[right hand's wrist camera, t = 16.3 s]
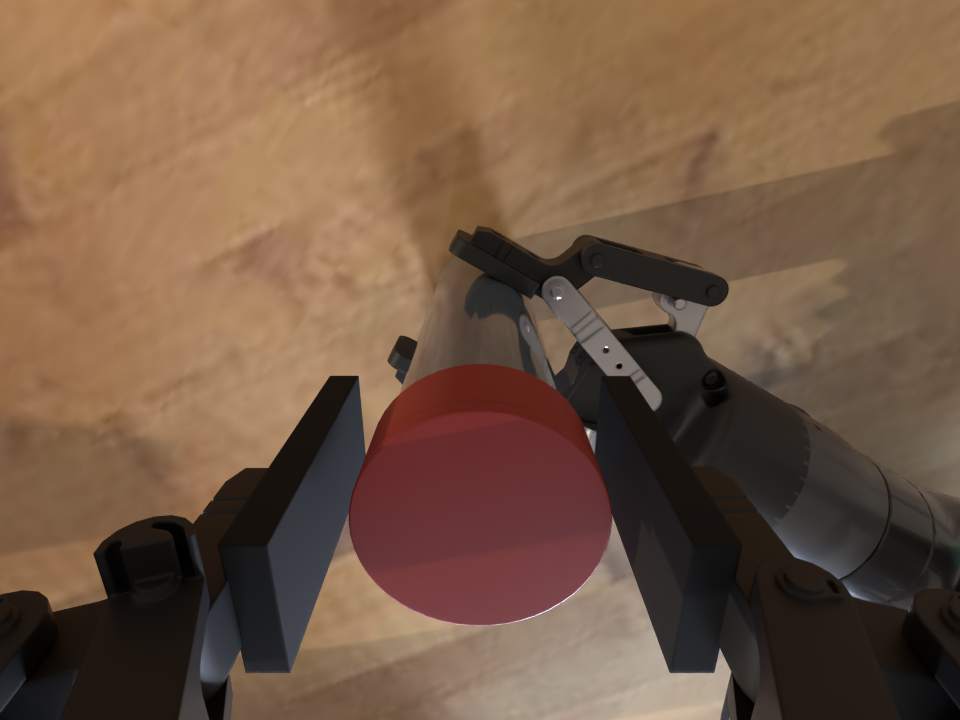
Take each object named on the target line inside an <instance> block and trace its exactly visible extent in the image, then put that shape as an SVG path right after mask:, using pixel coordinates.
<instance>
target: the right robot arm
mask: <svg viewBox="0 0 960 720" xmlns="http://www.w3.org/2000/svg"><path fill="white" fill-rule="evenodd" d="M594 455H595V457H596V460H597V463H598V465H599V468H600V470H601V473H602V476H603V478H604V481H605V484H606V486H607V489H608V492H609V497H610V501H611V509H612V515H613V518H614V521H615V524H616V526H617V529H618V532H619V535H620V537H621V540H622V543H623V546H624V548H625V551H626V554H627V557H628V559H629V562H630V565H631V568H632V570H633V573H634V576H635V579H636V581H637V584H638V587H639V590H640V592H641V595H642V598H643V600H644V603H645V606H646V609H647V611H648V614H649V617H650V620H651V622H652V625H653V628H654V631H655V633H656V636H657V639H658V642H659V644H660V647H661V650H662V653H663V655H664V658H665V661H666V664H667V666H668V669H669V672H670V673H714V671H715V667H716V662H717V658H718V653H719V649H721V651H722V653H723V655H724V657H725V659H726V661H727V663H728V665H729V667H730V669H731V676H730V680H729V684H728V688H727V693H726V697H725V701H724V705H723V709H722V713H721V720H729V717H730V720H960V592H956V591H951V590H945V589H940V588H934V589H922V590H921V591H920V592H918V593H917V594H915V595H914V596H913V599H912V602H911V604H910V607H909V609H908V610H906V609H901V608H897V607H893V606H888V605H884V604H879V603H875V602H871V601H866V600H862V599H859V598H856V597H852V596H851V594H850V593H849V591H848V590H847V588H846V587H845V585H844V584H843V583H842V582H841V581H840V580H838V579H837V578H836V577H835V576H834V575H833V574H831V573H830V572H828V571H827V570H825V569H823V568H821V567H819V566H817V565H815V564H814V563H811V562H808V561H805V560H802V559H798V558H795V557H794V556H793V555H792V553H791V552H790V551H789V550H788V548H787V547H786V546H785V544H784V543H783V542H782V541H781V539H780V538H779V537H778V535H777V534H776V533H775V532H774V530H773V529H772V528H771V526H770V525H769V524H768V523H767V521H766V520H765V519H764V517H763V516H762V515H761V514H760V513H758V512H757V508H756V507H755V506H754V504H753V503H752V502H751V501H750V499H747V495H746V494H745V493H744V492H743V490H742V489H741V488H740V486H739V485H738V484H737V483H736V481H735V480H734V479H732V478H731V477H729V476H728V475H726V474H725V473H723V472H722V471H720V470H719V469H717V468H716V467H715V466H690V465H689V464H688V462H687V461H686V459H685V458H684V456H683V455H682V453H681V452H680V450H679V449H678V447H677V446H676V444H675V443H674V441H673V440H672V438H671V437H670V435H669V434H668V432H667V431H666V429H665V428H664V426H663V425H662V423H661V422H660V420H659V419H658V417H657V416H656V414H655V413H654V411H653V410H652V408H651V407H650V405H649V404H648V402H647V401H646V399H645V398H644V396H643V395H642V393H641V392H640V390H639V389H638V387H637V386H636V384H635V383H634V381H633V380H632V378H631V377H630V376H601V387H600V398H599V409H598V420H597V431H596V442H595V453H594ZM365 457H366V453H365V442H364V431H363V420H362V409H361V398H360V387H359V376H330V377H329V378H328V380H327V381H326V383H325V384H324V386H323V387H322V389H321V390H320V392H319V393H318V395H317V396H316V398H315V399H314V401H313V402H312V404H311V405H310V407H309V408H308V410H307V411H306V413H305V414H304V416H303V417H302V419H301V420H300V422H299V423H298V425H297V426H296V428H295V429H294V431H293V432H292V434H291V435H290V437H289V438H288V440H287V441H286V443H285V444H284V446H283V447H282V449H281V450H280V452H279V453H278V455H277V456H276V458H275V459H274V461H273V462H272V464H271V465H270V466H269V468H245V469H244V470H242V471H241V472H239V473H238V474H236V475H235V476H234V477H232V478H231V479H229V480H228V481H226V482H225V483H224V485H223V486H222V487H221V489H220V490H219V491H218V493H217V494H216V495H215V496H214V498H213V501H211V502H210V503H209V504H208V505H207V507H206V508H205V509H204V511H203V515H200V516H199V517H198V518H197V520H196V521H195V522H194V524H192V523H191V522H190V521H188V520H187V519H186V518H183V517H178V516H173V515H169V516H157V517H152V518H148V519H144V520H141V521H137V522H135V523H132V524H130V525H128V526H126V527H124V528H122V529H120V530H118V531H116V532H115V533H114V534H112V535H111V536H110V537H108V538H107V539H105V540H104V541H103V542H102V543H101V544H100V546H99V547H98V548H97V550H96V551H95V552H94V553H93V554H94V557H95V560H96V563H97V566H98V569H99V572H100V575H101V578H102V581H103V584H104V587H105V590H106V593H107V596H108V598H107V599H105V600H102V601H99V602H95V603H90V604H86V605H82V606H77V607H73V608H69V609H64V610H60V611H56V612H52V609H51V607H50V604H49V602H48V599H47V598H46V597H45V596H44V595H42V594H41V593H40V592H36V591H25V590H22V591H17V592H11V593H6V594H2V595H0V720H230V718H231V708H232V697H233V692H232V685H231V680H230V676H229V672H230V670H231V668H232V666H233V664H234V662H235V660H236V658H237V656H238V653H239V651H240V649H241V653H242V658H243V662H244V667H245V671H246V673H290V672H291V669H292V666H293V664H294V661H295V658H296V655H297V653H298V650H299V647H300V644H301V642H302V639H303V636H304V633H305V631H306V628H307V625H308V622H309V620H310V617H311V614H312V611H313V609H314V606H315V603H316V600H317V598H318V595H319V592H320V589H321V587H322V584H323V581H324V579H325V576H326V573H327V570H328V568H329V565H330V562H331V559H332V557H333V554H334V551H335V548H336V546H337V543H338V540H339V537H340V535H341V532H342V529H343V526H344V524H345V521H346V518H347V515H348V513H349V505H350V500H351V495H352V491H353V488H354V486H355V483H356V481H357V478H358V475H359V473H360V470H361V467H362V465H363V462H364V459H365Z"/></svg>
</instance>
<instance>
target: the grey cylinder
mask: <svg viewBox="0 0 960 720" xmlns="http://www.w3.org/2000/svg"><path fill="white" fill-rule="evenodd" d="M468 364H492V365H501V366H506V367H510V368H514V369H518V370H521V371H523V372H526V373H528V374H531V375H533V376H535V377H537V378H539V379H541V380H543V381H544V382H546V383H547V384H549V385H550V386H551V387H553V388H554V389H556V390H557V391H558V392H559V393H560V394H561V392H560V389H559V386H558V383H557V381H556V378H555V375H554V372H553V369H552V366H551V363H550V360H549V357H548V354H547V351H546V348H545V345H544V342H543V339H542V336H541V333H540V330H539V327H538V324H537V321H536V318H535V315H534V312H533V309H532V306H531V303H530V300H529V298H528V297H526V296H525V295H523V294H521V293H519V292H518V291H516V290H514V289H513V288H511V287H509V286H508V285H506V284H504V283H502V282H500V281H498V280H497V279H495V278H493V277H491V276H490V275H488V274H486V273H484V272H483V271H481V270H479V269H477V268H476V267H474V266H472V265H470V264H469V263H467V262H465V261H463V260H462V259H460V258H458V257H457V256H454V257H453V258H451V259H450V260H449V261H448V262H447V263H446V264H445V266H444V267H443V269H442V271H441V273H440V275H439V278H438V280H437V283H436V286H435V289H434V292H433V295H432V298H431V301H430V304H429V307H428V310H427V313H426V316H425V319H424V322H423V325H422V328H421V331H420V334H419V337H418V340H417V344H416V347H415V350H414V353H413V356H412V359H411V362H410V365H409V368H408V371H407V374H406V377H405V380H404V383H403V386H402V389H401V392H400V394H401V393H402V392H403V391H404V390H405V389H406V388H408V387H409V386H411V385H412V384H413V383H415V382H416V381H418V380H420V379H422V378H424V377H426V376H427V375H430V374H432V373H435V372H437V371H440V370H443V369H447V368H451V367H455V366H461V365H468Z"/></svg>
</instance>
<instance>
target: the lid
mask: <svg viewBox="0 0 960 720" xmlns="http://www.w3.org/2000/svg"><path fill="white" fill-rule="evenodd" d="M611 525H612V509H611V501H610V497H609V492H608V489H607V486H606V484H605V481H604V478H603V476H602V473H601V470H600V468H599V465H598V463H597V460H596V457H595V455H594V452H593V449H592V447H591V444H590V441H589V439H588V436H587V434H586V431H585V428H584V426H583V423H582V421H581V420H580V418H579V416H578V414H577V413H576V411H575V410H574V408H573V407H572V406H571V405H570V403H569V402H568V401H567V400H566V399H565V398H564V397H563V396H562V395H561V394H560V393H559V392H558V391H557V390H556V389H554V388H553V387H551V386H550V385H549V384H547V383H546V382H544V381H543V380H541V379H539V378H537V377H535V376H533V375H531V374H528V373H526V372H523V371H521V370H518V369H514V368H510V367H506V366H501V365H492V364H468V365H461V366H455V367H451V368H447V369H443V370H440V371H437V372H435V373H432V374H430V375H427V376H426V377H424V378H422V379H420V380H418V381H416V382H415V383H413V384H412V385H411V386H409V387H408V388H406V389H405V390H404V391H403V392H402V393H401V394H399V395H398V396H397V397H396V398H395V399H394V400H393V401H392V403H391V404H390V405H389V407H388V408H387V409H386V411H385V412H384V414H383V415H382V417H381V419H380V421H379V423H378V425H377V428H376V430H375V433H374V435H373V438H372V441H371V443H370V446H369V449H368V451H367V454H366V457H365V459H364V462H363V465H362V467H361V470H360V473H359V475H358V478H357V481H356V483H355V486H354V488H353V491H352V495H351V500H350V505H349V527H350V535H351V539H352V542H353V546H354V549H355V551H356V554H357V556H358V558H359V560H360V562H361V564H362V565H363V567H364V569H365V570H366V572H367V573H368V575H369V576H370V577H371V578H372V579H373V580H374V582H375V583H376V584H377V585H378V586H379V587H380V588H381V589H382V590H383V591H384V592H386V593H387V594H388V595H389V596H390V597H392V598H393V599H395V600H396V601H397V602H399V603H400V604H402V605H404V606H406V607H407V608H409V609H411V610H413V611H415V612H417V613H420V614H422V615H424V616H427V617H430V618H433V619H437V620H440V621H444V622H449V623H454V624H460V625H471V626H490V625H500V624H507V623H512V622H517V621H521V620H524V619H527V618H531V617H534V616H536V615H539V614H541V613H543V612H546V611H548V610H550V609H552V608H553V607H555V606H557V605H559V604H560V603H562V602H563V601H565V600H566V599H567V598H569V597H570V596H572V595H573V594H574V593H575V592H576V591H577V590H578V589H580V588H581V587H582V586H583V585H584V584H585V583H586V581H587V580H588V579H589V578H590V577H591V575H592V574H593V573H594V571H595V570H596V568H597V566H598V565H599V563H600V562H601V560H602V557H603V555H604V553H605V551H606V548H607V545H608V541H609V537H610V534H611Z"/></svg>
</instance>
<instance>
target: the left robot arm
mask: <svg viewBox="0 0 960 720" xmlns="http://www.w3.org/2000/svg"><path fill="white" fill-rule="evenodd" d="M449 251H450V252H451V253H452V254H454V255H455V256H457V257H458V258H460V259H462V260H463V261H465V262H467V263H469V264H470V265H472V266H474V267H476V268H477V269H479V270H481V271H483V272H484V273H486V274H488V275H490V276H491V277H493V278H495V279H497V280H498V281H500V282H502V283H504V284H506V285H508V286H509V287H511V288H513V289H514V290H516V291H518V292H519V293H521V294H523V295H525V296H526V297H528V298H530V299H531V298H532V297H533V295H534V294H536V295H537V296H539V297H541V298H542V299H544V301H545V302H546V303H547V304H548V306H549V307H550V308H551V309H552V310H553V311H554V313H555V314H556V315H557V316H558V317H559V318H560V320H561V321H562V322H563V323H564V324H565V325H566V327H567V328H568V329H569V330H570V331H571V333H572V334H573V335H574V337H575V338H576V339H577V342H576V343H575V345H574V346H573V348H572V349H571V351H570V353H569V356H568V359H567V362H566V364H565V367H564V368H563V369H562V370H561V371H560V372H559V373H558V374H556V375H555V378H556V381H557V383H558V386H559V389H560V392H561V395H562V396H563V397H564V398H565V399H566V400H567V401H568V402H569V403H570V405H571V406H572V407H573V408H574V410H575V411H576V413H577V414H578V416H579V418H580V420H581V421H582V423H583V426H584V428H585V431H586V434H587V436H588V439H589V441H590V444H591V447H592V449H593V452H594V453H595V442H596V431H597V420H598V409H599V398H600V387H601V376H630V377H631V378H632V380H633V381H634V383H635V384H636V386H637V387H638V389H639V390H640V392H641V393H642V395H643V396H644V398H645V399H646V401H647V402H648V404H649V405H650V407H651V408H652V410H653V411H654V413H655V414H656V416H657V417H658V419H659V420H660V422H661V423H662V425H663V426H664V428H665V429H666V431H667V432H668V434H669V435H670V437H671V438H672V440H673V441H674V443H675V444H676V446H677V447H678V449H679V450H680V452H681V453H682V455H683V456H684V458H685V459H686V461H687V462H688V464H689V465H690V466H715V467H716V468H717V469H719V470H720V471H722V472H723V473H725V474H726V475H728V476H729V477H731V478H732V479H734V480H735V481H736V483H737V484H738V485H739V486H740V488H741V489H742V490H743V492H744V493H745V494H746V495H747V499H750V501H751V502H752V503H753V504H754V506H755V507H756V508H757V512H758V513H760V514H761V515H762V516H763V517H764V519H765V520H766V521H767V523H768V524H769V525H770V526H771V528H772V529H773V530H774V532H775V533H776V534H777V535H778V537H779V538H780V539H781V541H782V542H783V543H784V544H785V546H786V547H787V548H788V550H789V551H790V552H791V553H792V555H793V556H794V557H795V558H798V559H802V560H805V561H808V562H811V563H814V564H815V565H817V566H819V567H821V568H823V569H825V570H827V571H828V572H830V573H831V574H833V575H834V576H835V577H836V578H837V579H838V580H840V581H841V582H842V583H843V584H844V585H845V587H846V588H847V590H848V591H849V593H850V594H851V596H852V597H856V598H859V599H862V600H866V601H871V602H875V603H879V604H884V605H888V606H893V607H897V608H901V609H906V610H908V609H909V607H910V604H911V602H912V599H913V596H914V595H915V594H917V593H918V592H920V591H921V590H922V589H934V588H940V589H945V590H951V591H956V592H960V498H957V497H953V496H950V495H946V494H943V493H939V492H936V491H932V490H929V489H926V488H923V487H920V486H917V485H914V484H912V483H910V482H909V481H907V480H905V479H904V478H902V477H900V476H898V475H897V474H895V473H893V472H892V471H890V470H888V469H887V468H885V467H883V466H881V465H880V464H878V463H876V462H875V461H873V460H871V459H869V458H868V457H866V456H864V455H863V454H861V453H860V452H858V451H857V450H856V449H854V448H853V447H852V446H851V445H850V444H849V443H847V442H846V441H845V440H844V439H843V438H841V437H840V436H839V435H838V434H836V433H835V432H833V431H832V430H830V429H829V428H827V427H826V426H824V425H822V424H821V423H819V422H818V421H816V420H814V419H813V418H811V416H810V415H808V414H807V413H806V412H805V411H804V410H802V409H800V408H798V407H796V406H794V405H791V404H787V403H786V402H784V401H782V400H780V399H779V398H777V397H775V396H774V395H772V394H770V393H769V392H767V391H765V390H763V389H762V388H760V387H758V386H757V385H755V384H753V383H752V382H750V381H748V380H747V379H745V378H743V377H741V376H740V375H738V374H736V373H735V372H733V371H731V370H730V369H728V368H726V367H724V366H723V365H721V364H719V363H718V362H716V361H714V360H713V359H711V358H709V357H708V356H707V355H706V354H705V352H704V350H703V348H702V346H701V344H700V342H699V341H698V340H697V339H696V338H695V336H696V334H697V331H698V329H699V327H700V325H701V322H702V320H703V318H704V315H705V313H706V311H707V309H708V306H711V307H712V306H716V305H718V304H720V303H722V302H723V301H724V300H725V298H726V297H727V295H728V290H729V288H728V284H727V282H726V281H725V280H724V279H723V278H721V277H719V276H717V275H716V274H714V273H712V272H710V271H708V270H706V269H704V268H702V267H700V266H698V265H696V264H692V263H688V262H685V261H681V260H678V259H674V258H670V257H667V256H663V255H659V254H656V253H652V252H649V251H645V250H641V249H638V248H634V247H630V246H627V245H623V244H620V243H616V242H612V241H609V240H605V239H602V238H598V237H594V236H591V235H582V236H580V237H578V238H577V239H576V240H575V241H574V242H573V244H572V246H571V247H570V248H569V249H567V250H566V251H565V252H564V253H563V254H561V255H560V256H558V257H556V258H553V259H544V258H541V257H539V256H537V255H535V254H534V253H532V252H530V251H529V250H527V249H525V248H524V247H522V246H520V245H519V244H517V243H515V242H513V241H512V240H510V239H508V238H507V237H505V236H503V235H502V234H500V233H498V232H497V231H495V230H493V229H491V228H487V227H480V226H477V228H476V230H475V232H474V233H473V235H470V234H468V233H466V232H464V231H462V230H458V232H457V233H456V235H455V237H454V239H453V241H452V243H451V244H450V247H449ZM594 276H597V277H600V278H604V279H608V280H612V281H615V282H619V283H623V284H627V285H630V286H634V287H638V288H641V289H645V290H649V291H653V300H654V302H655V303H656V304H657V305H658V306H659V307H660V308H661V309H662V310H663V311H665V312H667V313H668V315H669V323H668V324H662V325H652V326H642V327H633V328H623V329H612V330H611V329H610V328H609V326H608V325H607V324H606V323H605V322H604V320H603V319H602V318H601V317H600V315H599V314H598V313H597V312H596V311H595V309H594V308H593V307H592V306H591V305H590V303H589V302H588V301H587V300H586V299H585V298H584V296H583V295H582V294H581V293H580V292H579V290H578V289H579V288H580V287H582V286H583V285H584V284H585V283H587V282H588V281H589V280H591V279H592V278H593V277H594ZM416 344H417V342H416V341H415V340H413V339H411V338H409V337H406V336H399V338H398V340H397V342H396V344H395V345H394V347H393V349H392V351H391V354H390V356H389V358H388V363H389V364H390V365H391V366H392V367H394V368H395V369H397V372H396V375H395V377H396V378H397V379H398V380H399V381H400V382H401V383H402V385H403V383H404V380H405V377H406V374H407V371H408V368H409V365H410V362H411V359H412V356H413V353H414V350H415V347H416Z"/></svg>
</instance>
